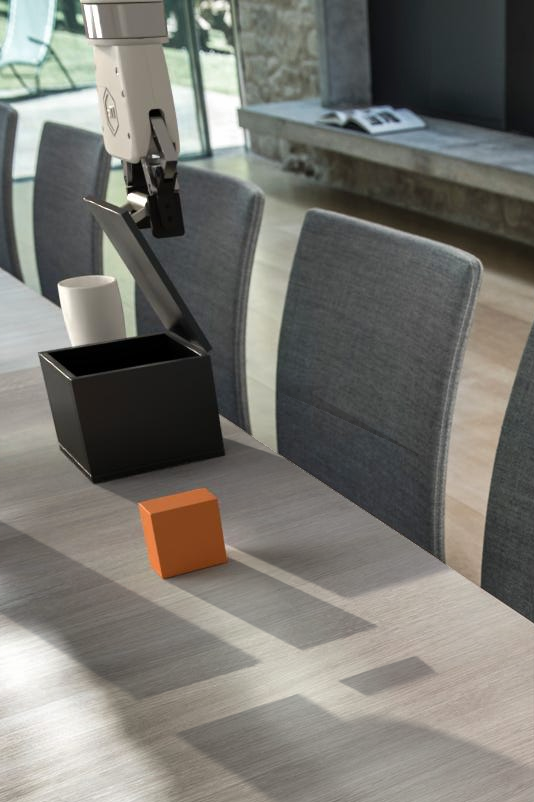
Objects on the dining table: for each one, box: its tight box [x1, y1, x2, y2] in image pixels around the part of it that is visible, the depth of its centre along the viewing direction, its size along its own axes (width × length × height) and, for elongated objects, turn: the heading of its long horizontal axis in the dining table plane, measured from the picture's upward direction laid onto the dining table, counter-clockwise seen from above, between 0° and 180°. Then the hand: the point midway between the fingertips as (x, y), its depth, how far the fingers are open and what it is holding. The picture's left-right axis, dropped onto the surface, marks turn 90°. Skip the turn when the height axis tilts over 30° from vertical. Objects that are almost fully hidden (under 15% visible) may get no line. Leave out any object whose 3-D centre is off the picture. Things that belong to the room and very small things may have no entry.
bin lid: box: [83, 191, 214, 354], centre depth 119 cm, size 15×13×5 cm
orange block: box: [137, 487, 228, 579], centre depth 101 cm, size 6×3×6 cm, turn 122°
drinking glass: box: [57, 274, 127, 347], centre depth 136 cm, size 7×7×15 cm
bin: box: [37, 330, 226, 484], centre depth 124 cm, size 15×13×11 cm
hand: (158, 230), depth 118 cm, fingers closed on bin lid, 5 cm apart
